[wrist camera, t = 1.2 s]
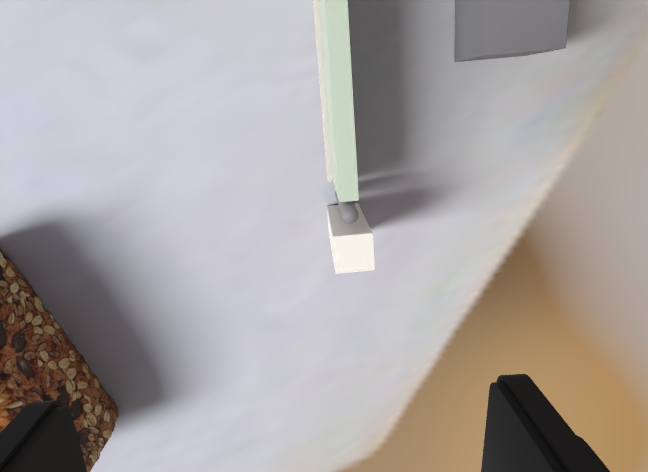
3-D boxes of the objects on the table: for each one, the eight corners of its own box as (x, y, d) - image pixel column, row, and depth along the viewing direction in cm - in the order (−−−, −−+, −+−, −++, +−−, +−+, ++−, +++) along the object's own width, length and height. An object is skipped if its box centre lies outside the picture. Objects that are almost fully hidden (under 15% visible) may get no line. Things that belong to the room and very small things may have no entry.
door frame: (301, -100, 26) (300, -172, 19) (340, -103, 27) (353, -177, 19) (329, 235, 33) (335, 273, 26) (359, 233, 33) (374, 270, 26)
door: (315, -51, 27) (318, -94, 21) (334, -53, 27) (342, -95, 21) (334, 200, 32) (341, 224, 26) (350, 198, 32) (360, 222, 26)
